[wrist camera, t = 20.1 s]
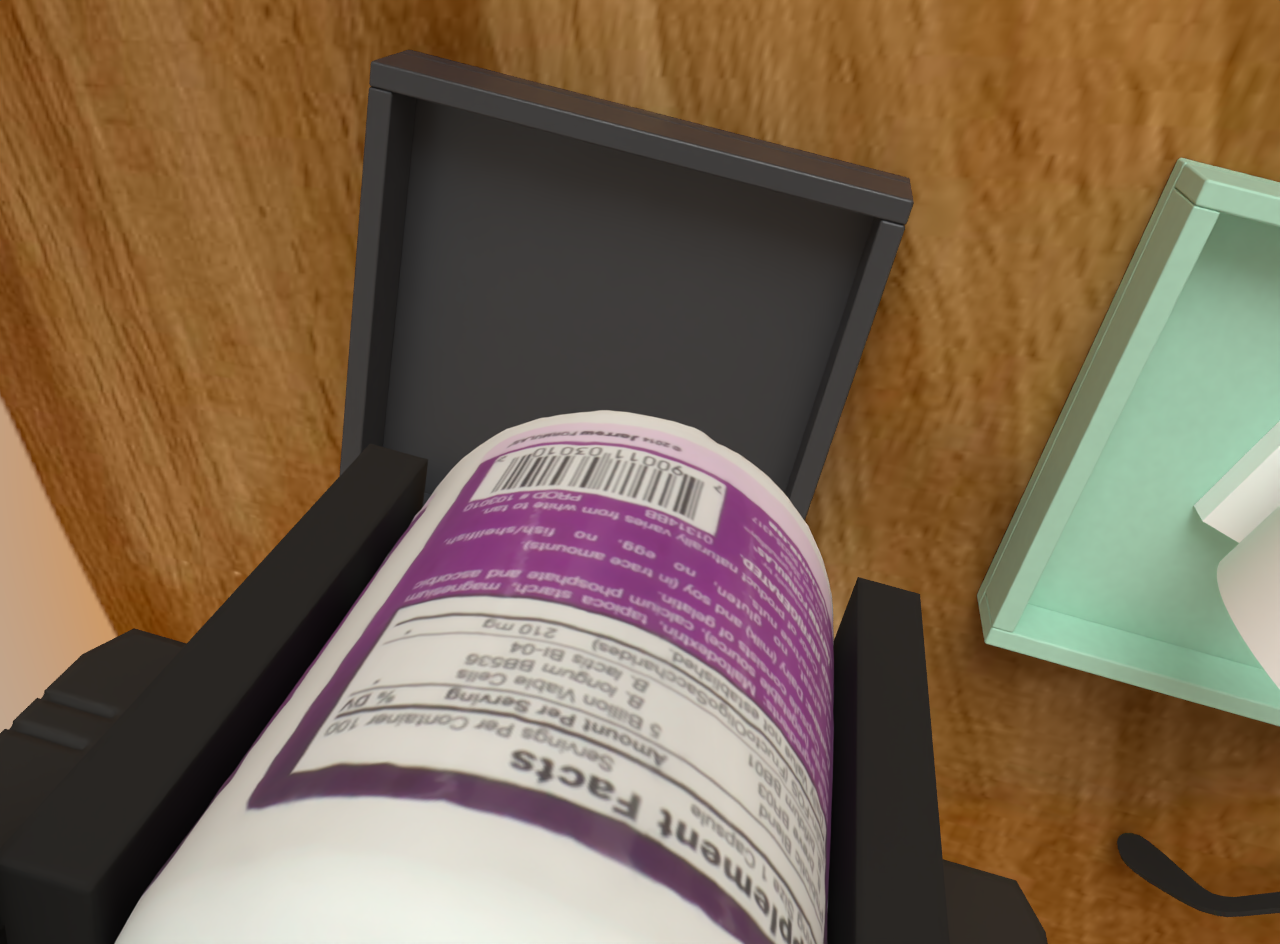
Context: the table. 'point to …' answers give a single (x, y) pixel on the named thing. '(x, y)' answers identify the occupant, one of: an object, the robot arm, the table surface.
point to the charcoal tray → (602, 272)
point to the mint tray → (1155, 459)
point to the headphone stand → (1251, 547)
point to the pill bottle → (546, 720)
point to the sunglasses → (1188, 882)
